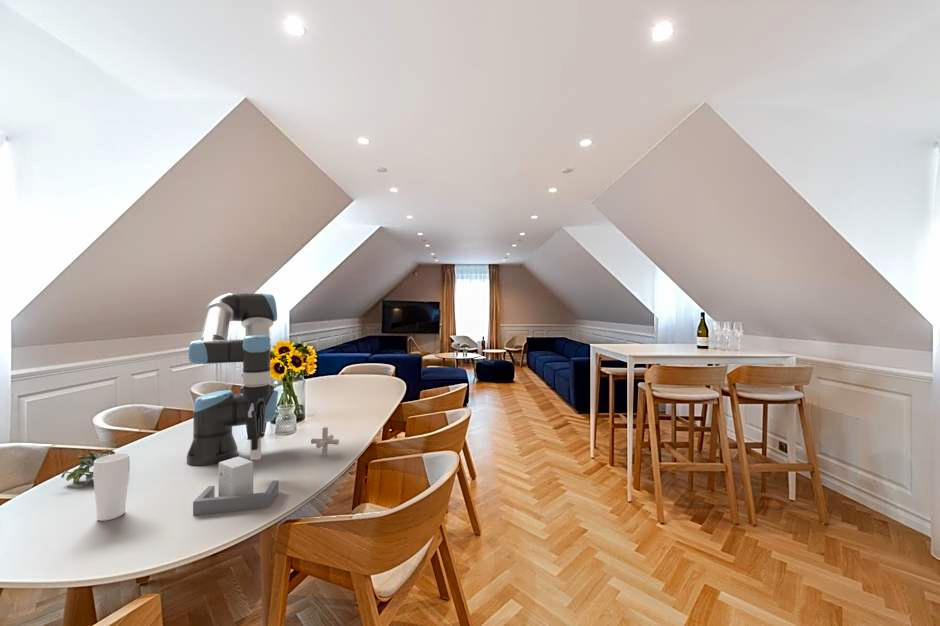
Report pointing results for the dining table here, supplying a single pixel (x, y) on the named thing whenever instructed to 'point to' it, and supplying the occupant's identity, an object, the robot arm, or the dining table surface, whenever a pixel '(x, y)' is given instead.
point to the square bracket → (233, 501)
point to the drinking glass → (111, 485)
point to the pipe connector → (324, 441)
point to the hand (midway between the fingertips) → (255, 458)
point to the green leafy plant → (89, 463)
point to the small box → (235, 477)
